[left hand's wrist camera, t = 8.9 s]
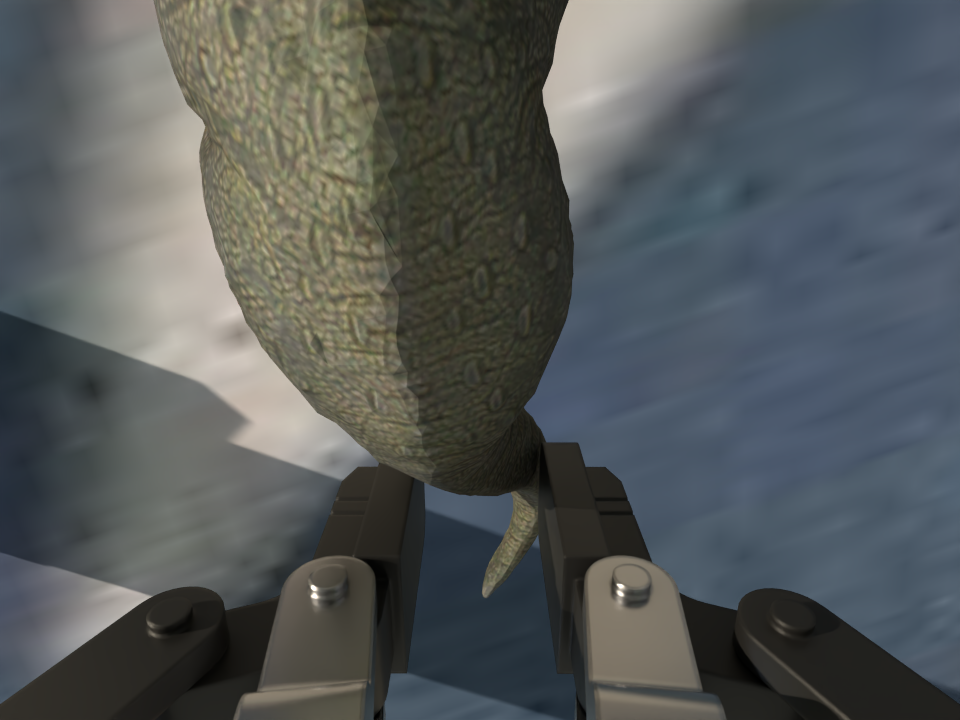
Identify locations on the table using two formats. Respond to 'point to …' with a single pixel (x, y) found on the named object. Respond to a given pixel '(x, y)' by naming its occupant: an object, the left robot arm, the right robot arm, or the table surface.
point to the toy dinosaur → (392, 219)
